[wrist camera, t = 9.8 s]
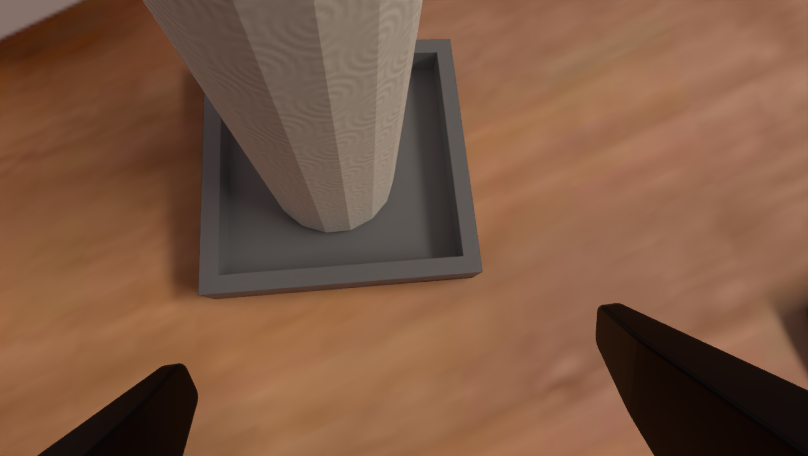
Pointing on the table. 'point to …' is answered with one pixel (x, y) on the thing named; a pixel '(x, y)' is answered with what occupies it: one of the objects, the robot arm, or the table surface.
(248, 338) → the table surface
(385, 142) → the paper towel roll
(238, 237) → the tray
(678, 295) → the table surface
